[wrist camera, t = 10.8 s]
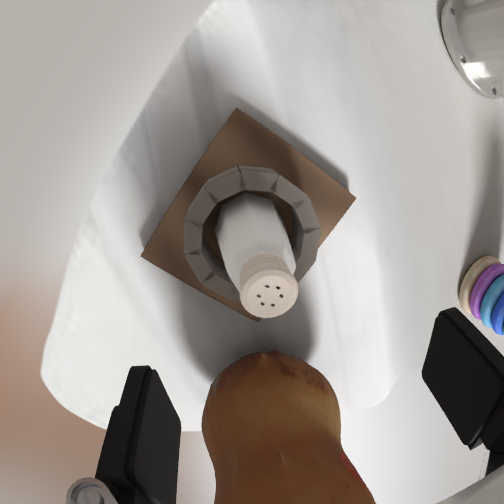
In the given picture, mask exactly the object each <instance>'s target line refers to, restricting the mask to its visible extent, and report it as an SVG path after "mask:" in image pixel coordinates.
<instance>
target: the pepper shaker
mask: <svg viewBox="0 0 504 504" xmlns="http://www.w3.org/2000/svg"><path fill="white" fill-rule="evenodd" d="M215 233H216V237H217V240H218V244H219V247H220V250H221V254H222V257H223V260H224V264H225V267H226V270H227V273H228V275H229V277H230V279H231V280H232V282H233V283H234V285H235V286H236V288H237V289H238V291H239V292H240V300H241V303H242V305H243V306H244V308H245V309H246V310H247V311H248V312H249V313H250V314H252V315H255V316H257V317H262V318H272V317H276V316H279V315H281V314H283V313H285V312H286V311H288V310H289V309H290V308H291V307H292V306H293V304H294V303H295V301H296V299H297V296H298V290H299V289H298V283H297V281H296V279H295V277H294V276H293V274H294V272H295V269H296V263H295V259H294V256H293V252H292V249H291V245H290V242H289V239H288V236H287V232H286V229H285V226H284V222H283V220H282V218H281V216H280V215H279V213H278V211H277V209H276V207H275V205H274V203H273V201H272V199H268V198H265V197H261V196H258V195H254V194H251V193H247V192H245V193H243V194H241V195H239V196H237V197H236V198H234V199H232V200H230V201H228V202H227V203H225V204H223V205H222V206H221V209H220V213H219V216H218V220H217V224H216V227H215Z"/></svg>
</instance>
